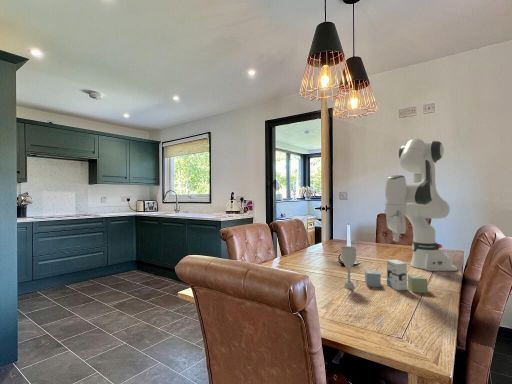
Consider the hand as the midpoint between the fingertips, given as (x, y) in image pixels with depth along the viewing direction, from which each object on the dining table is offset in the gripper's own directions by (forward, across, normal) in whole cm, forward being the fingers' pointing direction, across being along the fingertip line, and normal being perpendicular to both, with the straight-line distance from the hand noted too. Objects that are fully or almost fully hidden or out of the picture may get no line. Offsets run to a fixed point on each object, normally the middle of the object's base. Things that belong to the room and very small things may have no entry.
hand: (395, 241), depth 131 cm
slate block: (+21, +2, +10) cm, 23 cm away
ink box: (+21, 0, 0) cm, 21 cm away
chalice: (+22, -4, +21) cm, 30 cm away
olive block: (+21, -2, -8) cm, 23 cm away
